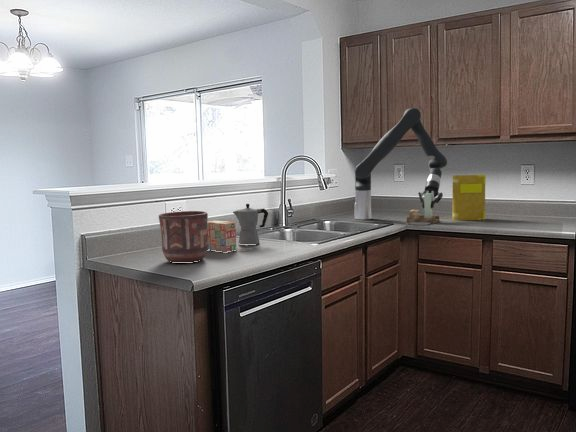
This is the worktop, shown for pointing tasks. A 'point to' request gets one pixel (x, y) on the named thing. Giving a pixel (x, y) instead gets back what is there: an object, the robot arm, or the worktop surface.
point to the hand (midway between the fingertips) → (427, 207)
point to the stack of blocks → (221, 235)
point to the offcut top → (413, 212)
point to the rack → (423, 219)
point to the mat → (420, 223)
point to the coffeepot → (249, 224)
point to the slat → (427, 205)
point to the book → (468, 197)
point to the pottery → (184, 235)
